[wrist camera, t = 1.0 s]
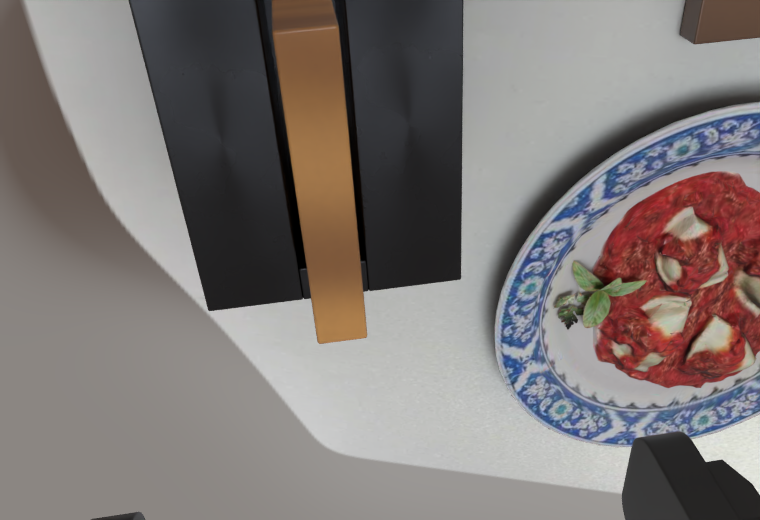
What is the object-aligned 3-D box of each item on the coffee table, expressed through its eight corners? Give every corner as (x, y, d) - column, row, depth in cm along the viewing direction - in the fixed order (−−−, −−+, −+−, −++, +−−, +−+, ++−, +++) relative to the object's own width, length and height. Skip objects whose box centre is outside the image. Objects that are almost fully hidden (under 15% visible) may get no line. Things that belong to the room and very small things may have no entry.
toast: (270, -56, 25) (271, 31, 17) (315, -60, 25) (338, 24, 17) (304, 191, 31) (318, 345, 23) (341, 187, 31) (367, 338, 23)
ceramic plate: (980, 158, 42) (1024, 182, 40) (725, 446, 55) (746, 477, 53) (622, 21, 34) (649, 40, 32) (422, 393, 47) (431, 426, 45)
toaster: (150, -165, 28) (93, -132, 19) (402, -185, 28) (464, -163, 19) (222, 177, 36) (208, 312, 28) (414, 156, 37) (461, 279, 28)
